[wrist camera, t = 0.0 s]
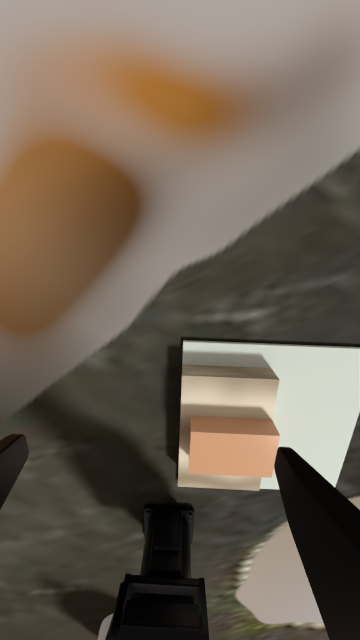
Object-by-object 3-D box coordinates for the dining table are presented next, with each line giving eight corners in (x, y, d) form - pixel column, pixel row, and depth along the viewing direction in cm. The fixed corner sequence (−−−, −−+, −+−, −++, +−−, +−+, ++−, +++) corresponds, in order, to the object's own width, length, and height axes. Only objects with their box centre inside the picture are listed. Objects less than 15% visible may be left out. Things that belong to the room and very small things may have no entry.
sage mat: (331, 488, 28) (333, 492, 27) (177, 480, 28) (177, 484, 28) (376, 347, 22) (379, 349, 22) (183, 340, 22) (183, 341, 22)
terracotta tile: (264, 459, 24) (271, 477, 22) (188, 455, 24) (188, 473, 22) (272, 419, 22) (280, 436, 20) (190, 416, 22) (190, 431, 20)
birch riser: (252, 469, 27) (259, 490, 25) (178, 465, 27) (177, 486, 25) (270, 366, 23) (279, 379, 21) (182, 362, 23) (181, 375, 21)
